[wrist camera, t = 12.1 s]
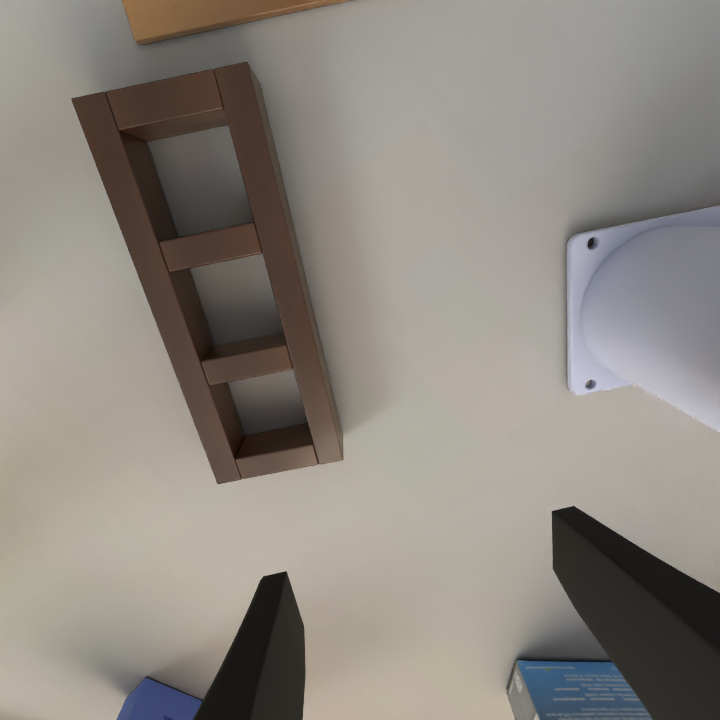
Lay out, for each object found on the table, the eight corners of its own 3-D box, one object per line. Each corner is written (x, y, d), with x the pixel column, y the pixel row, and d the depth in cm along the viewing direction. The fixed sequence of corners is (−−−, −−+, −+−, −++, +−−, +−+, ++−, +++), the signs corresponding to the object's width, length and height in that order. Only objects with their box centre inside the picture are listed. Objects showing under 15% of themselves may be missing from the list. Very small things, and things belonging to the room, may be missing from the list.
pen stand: (259, 82, 15) (247, 60, 13) (343, 436, 21) (343, 460, 19) (106, 114, 15) (70, 98, 13) (229, 458, 21) (217, 484, 19)
